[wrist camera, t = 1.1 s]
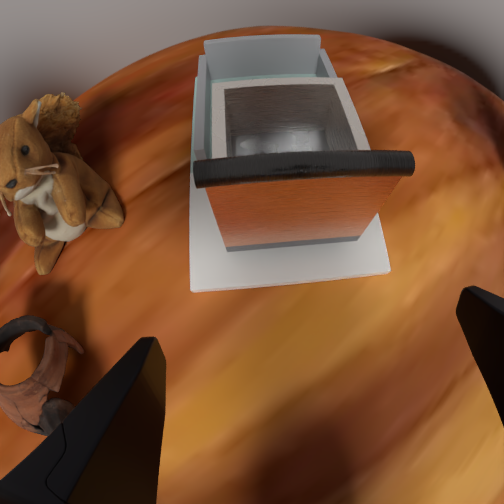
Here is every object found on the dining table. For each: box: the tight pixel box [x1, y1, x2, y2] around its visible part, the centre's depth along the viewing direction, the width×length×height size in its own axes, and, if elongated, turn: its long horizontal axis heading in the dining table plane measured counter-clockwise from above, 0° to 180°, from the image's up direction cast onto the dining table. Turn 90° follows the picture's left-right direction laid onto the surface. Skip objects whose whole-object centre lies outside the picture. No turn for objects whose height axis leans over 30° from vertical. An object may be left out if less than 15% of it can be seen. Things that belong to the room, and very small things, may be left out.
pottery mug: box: [0, 315, 84, 436], centre depth 18 cm, size 12×9×8 cm
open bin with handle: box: [193, 77, 415, 252], centre depth 18 cm, size 10×10×11 cm
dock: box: [190, 35, 391, 292], centre depth 24 cm, size 24×15×6 cm, turn 5°
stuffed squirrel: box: [0, 93, 124, 275], centre depth 20 cm, size 10×14×13 cm
